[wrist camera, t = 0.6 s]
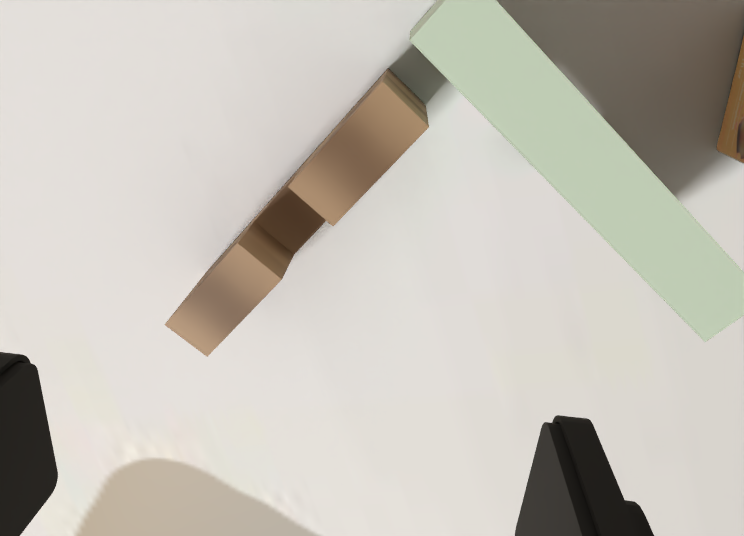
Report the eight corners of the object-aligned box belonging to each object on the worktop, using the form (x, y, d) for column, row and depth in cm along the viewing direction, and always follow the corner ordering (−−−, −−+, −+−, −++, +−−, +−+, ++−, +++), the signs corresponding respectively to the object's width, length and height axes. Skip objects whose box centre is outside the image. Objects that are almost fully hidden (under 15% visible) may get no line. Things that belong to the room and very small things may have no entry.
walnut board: (388, 68, 32) (382, 81, 26) (425, 105, 33) (428, 127, 27) (205, 273, 39) (164, 324, 32) (240, 300, 39) (207, 356, 33)
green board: (655, 209, 35) (767, 298, 24) (615, 241, 36) (705, 342, 25) (449, -13, 31) (470, -28, 20) (410, 31, 32) (409, 40, 21)
